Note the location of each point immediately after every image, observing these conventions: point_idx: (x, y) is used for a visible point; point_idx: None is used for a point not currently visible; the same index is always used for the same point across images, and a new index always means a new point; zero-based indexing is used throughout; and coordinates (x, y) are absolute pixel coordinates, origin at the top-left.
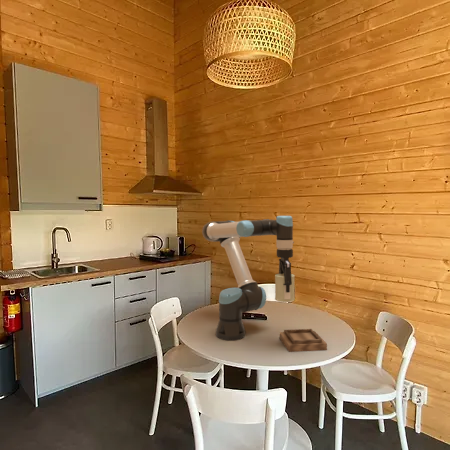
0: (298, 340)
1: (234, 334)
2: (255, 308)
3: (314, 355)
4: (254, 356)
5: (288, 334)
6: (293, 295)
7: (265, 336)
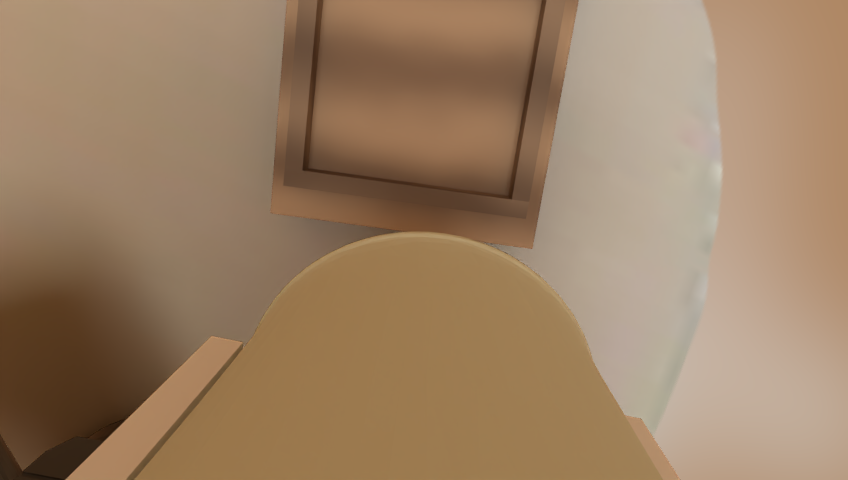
0: (528, 168)
1: None
2: (4, 442)
3: (629, 89)
4: None
5: (390, 193)
6: (578, 341)
7: (232, 293)
